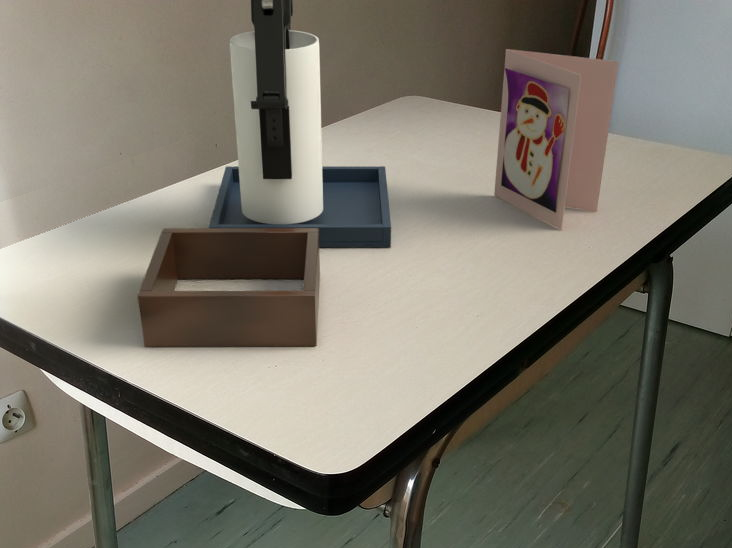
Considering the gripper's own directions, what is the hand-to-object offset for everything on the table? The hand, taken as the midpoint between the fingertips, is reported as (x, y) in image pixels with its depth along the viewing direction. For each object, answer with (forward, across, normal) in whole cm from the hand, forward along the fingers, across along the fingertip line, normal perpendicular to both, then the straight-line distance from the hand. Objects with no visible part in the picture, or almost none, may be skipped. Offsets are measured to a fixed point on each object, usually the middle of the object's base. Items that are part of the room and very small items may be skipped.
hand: (279, 162), depth 99 cm
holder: (+6, -19, +3) cm, 20 cm away
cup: (+5, 0, 0) cm, 5 cm away
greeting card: (+7, +5, -28) cm, 29 cm away
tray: (+6, +3, -2) cm, 7 cm away
